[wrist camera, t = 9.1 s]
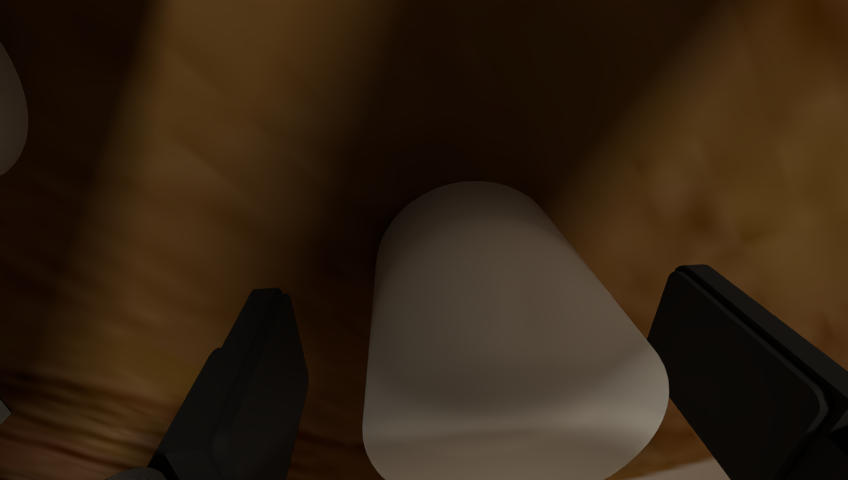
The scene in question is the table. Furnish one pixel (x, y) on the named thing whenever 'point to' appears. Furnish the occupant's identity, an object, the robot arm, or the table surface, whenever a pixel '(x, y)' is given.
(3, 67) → the cream rounded knob
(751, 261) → the table surface
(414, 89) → the table surface
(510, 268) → the cream smooth rounded cylinder
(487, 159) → the table surface
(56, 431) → the table surface
